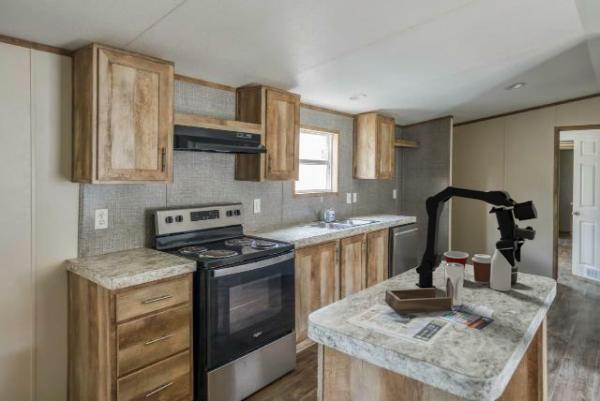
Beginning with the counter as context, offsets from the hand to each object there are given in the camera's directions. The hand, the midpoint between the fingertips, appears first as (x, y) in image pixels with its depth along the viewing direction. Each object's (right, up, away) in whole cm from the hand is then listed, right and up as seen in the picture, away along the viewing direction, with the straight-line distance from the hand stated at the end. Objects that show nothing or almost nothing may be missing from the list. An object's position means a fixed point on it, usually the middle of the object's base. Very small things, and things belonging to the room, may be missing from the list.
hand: (516, 264), depth 140 cm
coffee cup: (+2, -14, +31) cm, 34 cm away
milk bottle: (+5, -14, +20) cm, 25 cm away
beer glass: (-23, -16, +2) cm, 28 cm away
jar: (+13, -14, +31) cm, 36 cm away
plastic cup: (-8, -13, +36) cm, 39 cm away
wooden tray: (-37, -15, 0) cm, 40 cm away
